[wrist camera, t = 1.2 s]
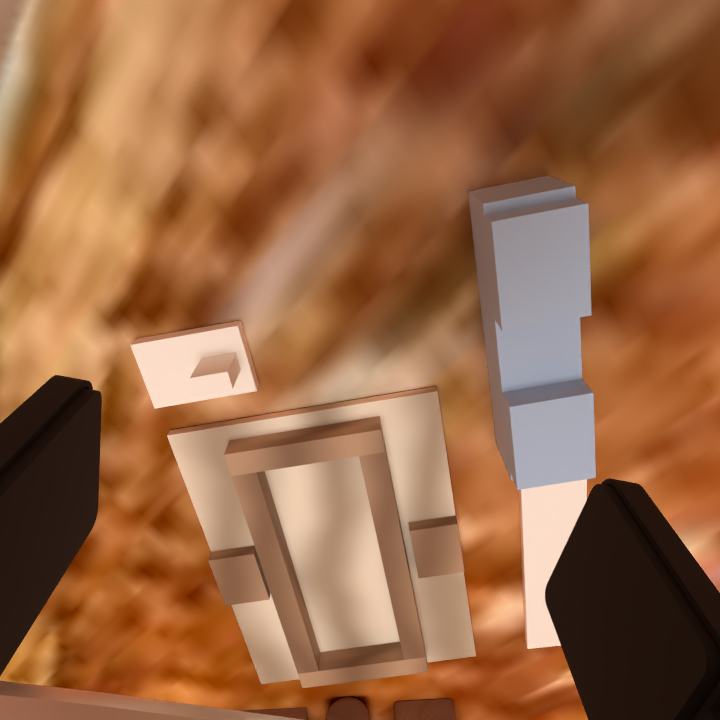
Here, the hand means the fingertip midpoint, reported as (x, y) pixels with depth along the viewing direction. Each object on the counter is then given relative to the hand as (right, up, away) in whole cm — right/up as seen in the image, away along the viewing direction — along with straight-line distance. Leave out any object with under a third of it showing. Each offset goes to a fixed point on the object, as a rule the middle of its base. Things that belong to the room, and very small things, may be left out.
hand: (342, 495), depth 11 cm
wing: (+13, -10, +28) cm, 32 cm away
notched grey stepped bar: (+9, +5, +21) cm, 23 cm away
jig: (-1, -10, +27) cm, 29 cm away
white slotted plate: (-9, +3, +22) cm, 24 cm away
